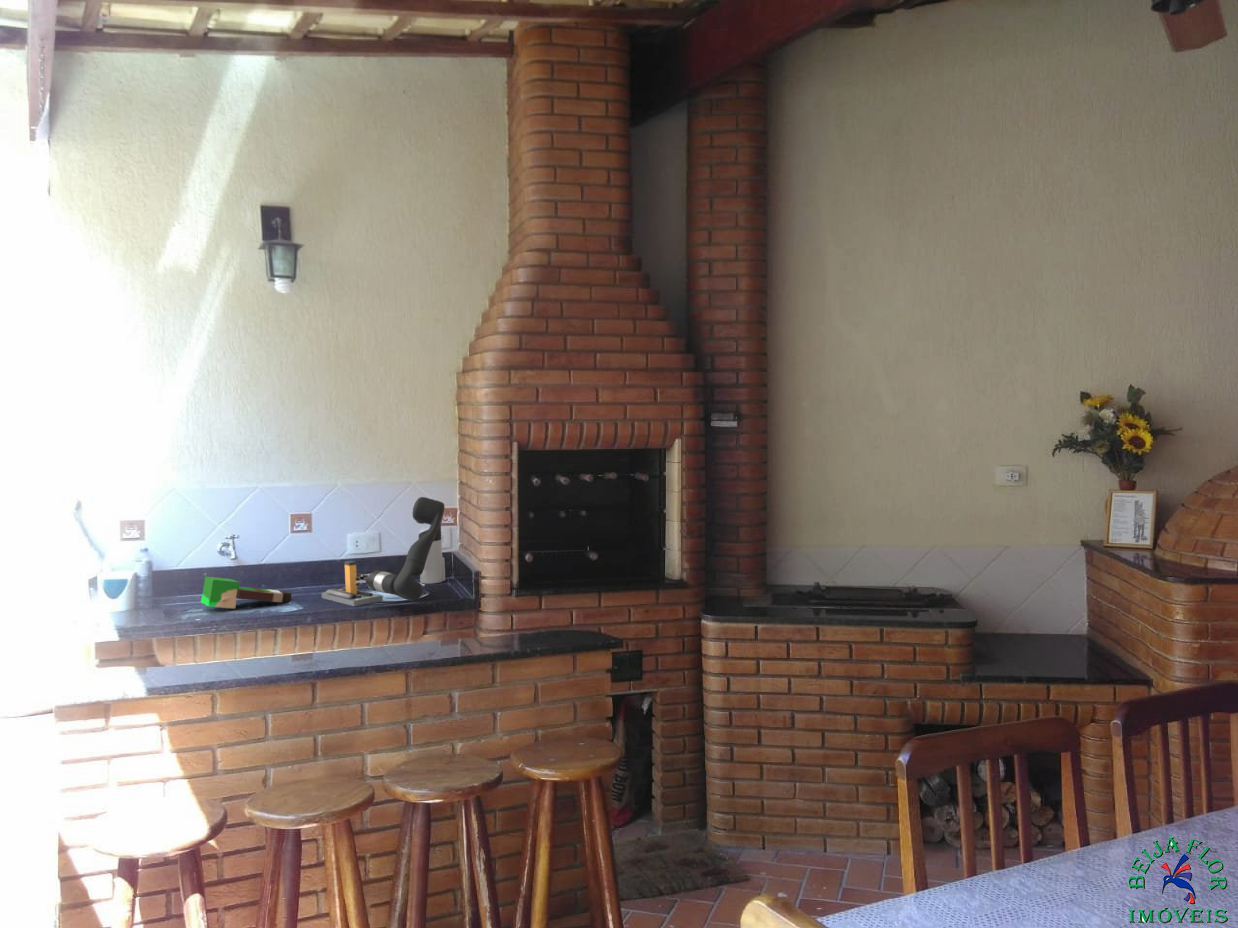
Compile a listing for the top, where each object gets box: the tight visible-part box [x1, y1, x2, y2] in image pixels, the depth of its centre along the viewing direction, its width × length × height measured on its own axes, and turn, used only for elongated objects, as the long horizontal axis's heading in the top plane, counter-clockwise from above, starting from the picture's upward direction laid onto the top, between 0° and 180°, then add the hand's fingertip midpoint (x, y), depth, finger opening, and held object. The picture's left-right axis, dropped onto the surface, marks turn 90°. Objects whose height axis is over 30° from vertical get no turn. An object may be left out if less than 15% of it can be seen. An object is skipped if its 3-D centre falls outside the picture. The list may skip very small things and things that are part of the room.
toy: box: [200, 576, 292, 610], centre depth 395 cm, size 15×11×30 cm
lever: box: [344, 560, 358, 594], centre depth 402 cm, size 3×4×12 cm
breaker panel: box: [321, 586, 384, 607], centre depth 402 cm, size 12×24×4 cm, turn 44°
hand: (358, 576), depth 398 cm, fingers closed
